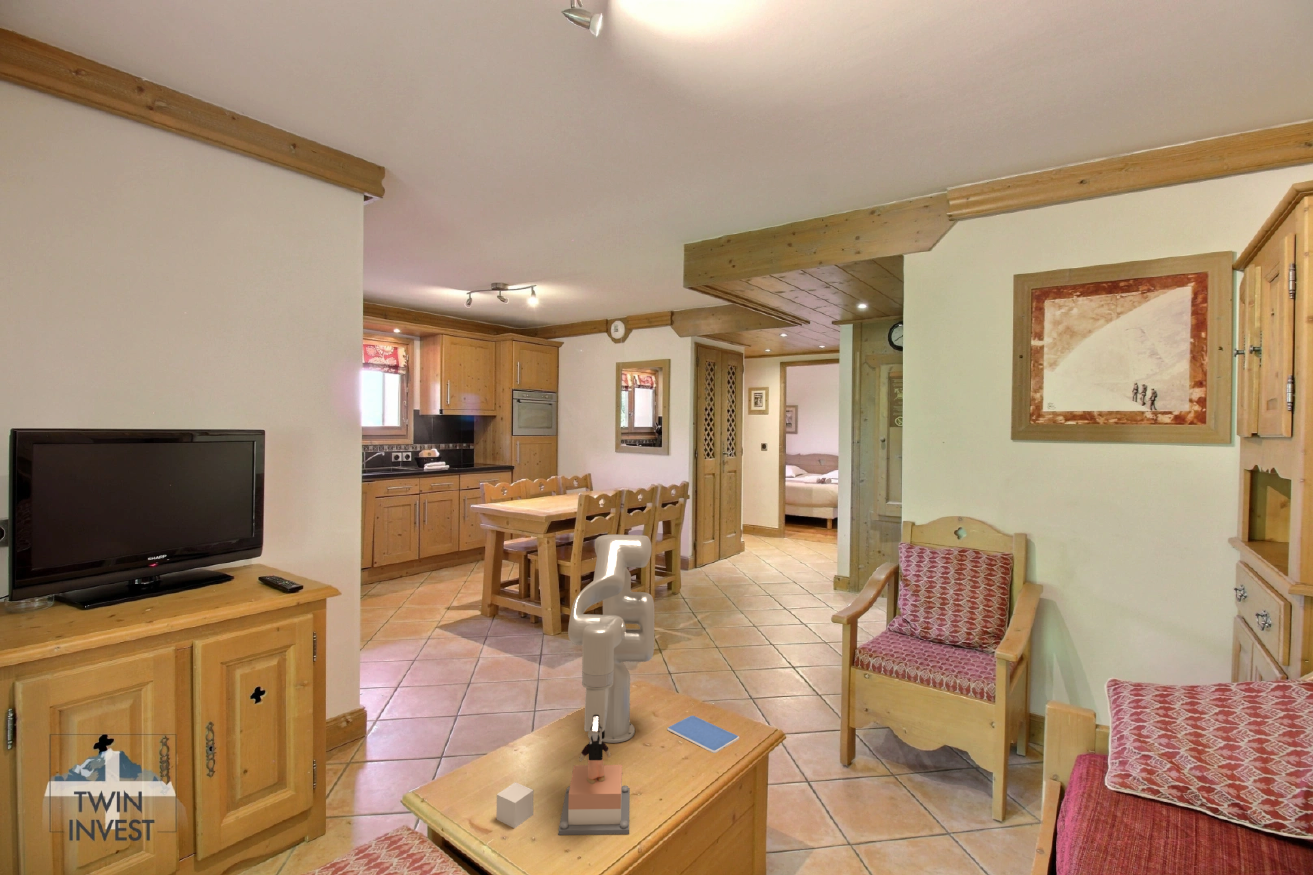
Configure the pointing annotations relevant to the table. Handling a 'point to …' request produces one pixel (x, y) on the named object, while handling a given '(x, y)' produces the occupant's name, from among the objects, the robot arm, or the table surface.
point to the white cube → (514, 805)
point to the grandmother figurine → (594, 763)
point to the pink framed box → (596, 804)
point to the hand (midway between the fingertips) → (596, 748)
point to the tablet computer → (703, 734)
